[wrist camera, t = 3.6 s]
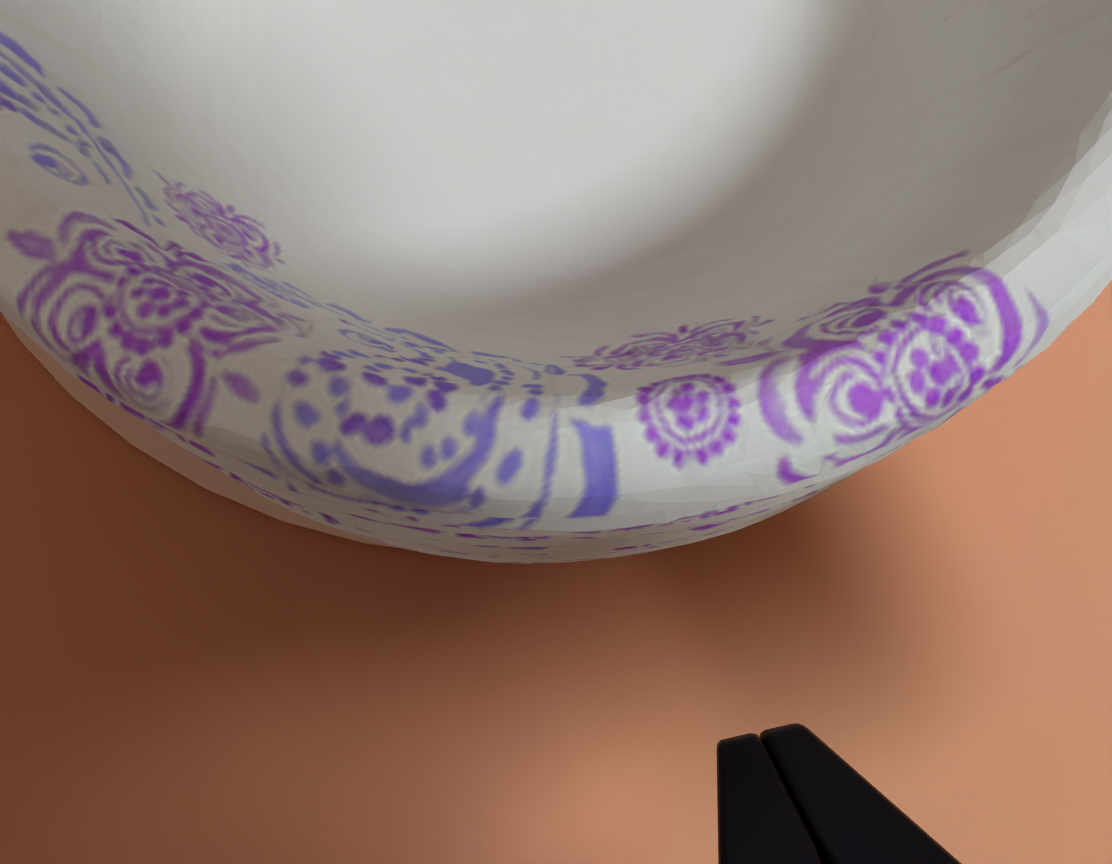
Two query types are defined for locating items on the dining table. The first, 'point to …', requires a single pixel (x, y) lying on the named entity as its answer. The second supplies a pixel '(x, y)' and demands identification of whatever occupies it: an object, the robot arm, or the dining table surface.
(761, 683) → the dining table surface
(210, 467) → the centring plate
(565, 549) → the white floral bowl
